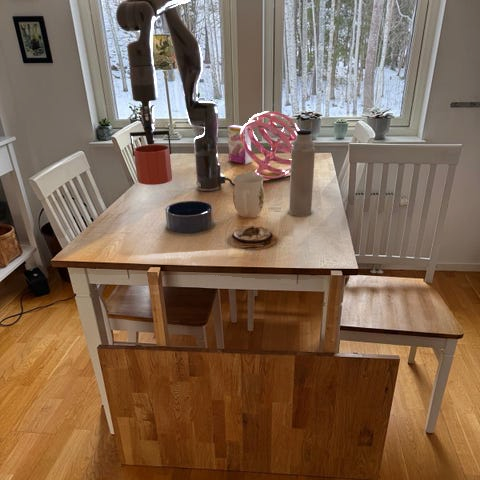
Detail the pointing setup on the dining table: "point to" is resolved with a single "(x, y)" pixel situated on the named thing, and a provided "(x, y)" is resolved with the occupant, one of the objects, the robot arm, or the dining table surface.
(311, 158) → the thermos bottle
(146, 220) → the dining table surface
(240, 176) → the pitcher
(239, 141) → the candy bar box
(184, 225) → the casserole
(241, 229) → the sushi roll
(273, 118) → the spiral basket
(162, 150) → the red bucket
